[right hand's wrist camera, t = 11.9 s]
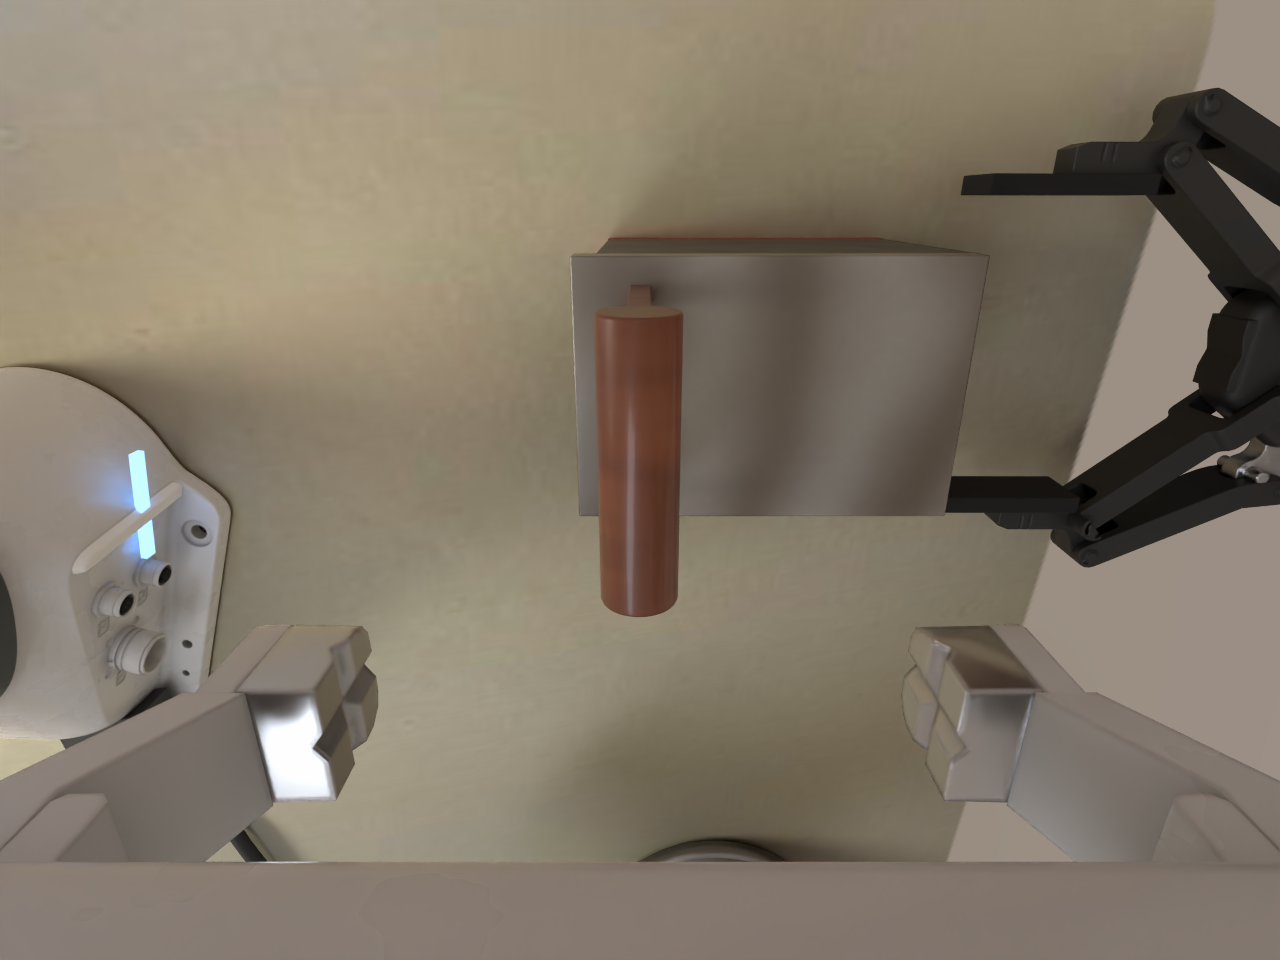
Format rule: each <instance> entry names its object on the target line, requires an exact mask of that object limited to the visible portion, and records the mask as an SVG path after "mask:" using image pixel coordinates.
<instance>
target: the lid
mask: <svg viewBox="0 0 1280 960" xmlns="http://www.w3.org/2000/svg"><path fill="white" fill-rule="evenodd" d="M988 262H989V256H988V255H984V254H977V253H600V254H573V255H572V256H570V276H571V303H572V330H573V357H574V384H575V411H576V438H577V465H578V492H579V515H580V516H599V533H600V573H601V598H602V601H603V603H604V604H605V606H606V607H607V608H609V609H610V610H612V611H613V612H616V613H618V614H621V615H625V616H632V617H647V616H653V615H657V614H660V613H663V612H665V611H667V610H669V609H670V608H671V607H672V606H673V605H674V604H675V602H676V600H677V597H678V556H679V516H944V515H945V510H946V504H947V498H948V492H949V487H950V481H951V475H952V469H953V464H954V458H955V452H956V446H957V441H958V435H959V429H960V423H961V418H962V412H963V406H964V400H965V395H966V389H967V383H968V377H969V372H970V366H971V360H972V354H973V348H974V343H975V337H976V331H977V325H978V320H979V314H980V308H981V302H982V297H983V291H984V285H985V279H986V274H987V268H988Z"/></svg>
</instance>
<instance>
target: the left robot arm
mask: <svg viewBox="0 0 1280 960" xmlns="http://www.w3.org/2000/svg"><path fill="white" fill-rule="evenodd" d="M1152 119H1153V123H1154V124H1153V126H1152V128H1151V129H1150V131H1149V132H1148V134H1147V135H1146V136H1145V137H1144V138H1143V139H1142V140H1140V141H1139V142H1087V143H1079V144H1072V145H1069V146H1066V147H1064V148H1061V149H1059V150H1058V151H1057V156H1056V161H1055V166H1054V171H1053V174H1011V173H994V174H982V175H970V176H964V179H963V185H962V191H961V195H1146V196H1147V197H1148V198H1149V200H1150V201H1151V202H1152V203H1153V204H1154V205H1155V207H1156V208H1157V209H1158V210H1159V211H1160V213H1161V214H1162V215H1163V216H1164V217H1165V218H1166V220H1167V221H1168V222H1169V223H1170V224H1171V226H1172V227H1173V228H1174V229H1175V230H1176V231H1177V233H1178V234H1179V235H1180V236H1181V237H1182V239H1183V240H1184V241H1185V242H1186V243H1187V245H1188V246H1189V247H1190V248H1191V249H1192V250H1193V252H1194V253H1195V254H1196V255H1197V256H1198V258H1199V259H1200V260H1201V261H1202V262H1203V263H1204V265H1205V266H1206V267H1207V268H1208V269H1209V271H1210V273H1209V274H1208V278H1209V279H1210V281H1211V282H1212V283H1213V284H1214V285H1215V287H1216V288H1217V289H1218V290H1219V291H1220V293H1221V294H1222V295H1223V296H1224V297H1225V298H1226V300H1227V301H1228V303H1227V304H1226V305H1225V306H1224V307H1223V309H1222V310H1221V312H1220V313H1213V314H1212V318H1211V321H1210V324H1209V328H1208V337H1207V349H1206V351H1205V353H1204V355H1203V356H1202V358H1201V360H1200V361H1199V363H1198V365H1197V368H1196V372H1195V375H1194V378H1193V382H1196V383H1199V389H1198V390H1196V391H1195V392H1193V393H1192V394H1190V395H1189V396H1187V397H1186V398H1184V399H1183V400H1181V401H1180V402H1178V403H1177V404H1175V405H1174V406H1172V407H1171V408H1170V409H1169V411H1168V414H1169V415H1168V417H1167V418H1166V419H1164V420H1163V421H1161V422H1160V423H1158V424H1157V425H1155V426H1154V427H1152V428H1151V429H1149V430H1148V431H1146V432H1145V433H1143V434H1141V435H1140V436H1139V437H1137V438H1135V439H1134V440H1132V441H1131V442H1129V443H1128V444H1126V445H1125V446H1123V447H1122V448H1120V449H1119V450H1117V451H1116V452H1114V453H1113V454H1111V455H1110V456H1108V457H1107V458H1105V459H1104V460H1102V461H1100V462H1099V463H1097V464H1096V465H1094V466H1093V467H1091V468H1090V469H1088V470H1087V471H1085V472H1084V473H1082V474H1081V475H1079V476H1078V477H1076V478H1075V479H1073V480H1072V481H1070V482H1069V483H1067V484H1066V485H1064V486H1062V485H1060V484H1059V483H1057V482H1056V481H1054V480H1053V479H1051V478H1050V477H1048V476H951V481H950V487H949V492H948V498H947V504H946V510H945V513H985V514H986V515H987V516H988V517H989V518H990V519H991V520H993V521H994V522H995V523H996V524H997V525H998V526H1001V527H1004V528H1006V529H1053V530H1052V532H1051V540H1052V542H1053V543H1054V544H1056V545H1057V546H1058V547H1059V548H1060V549H1062V550H1063V551H1064V552H1065V553H1066V554H1068V555H1069V556H1070V557H1071V558H1073V559H1074V560H1075V561H1076V562H1077V563H1079V564H1080V565H1082V566H1083V567H1093V566H1096V565H1098V564H1101V563H1103V562H1106V561H1109V560H1111V559H1114V558H1116V557H1119V556H1121V555H1124V554H1126V553H1129V552H1132V551H1134V550H1137V549H1139V548H1142V547H1144V546H1147V545H1149V544H1152V543H1154V542H1157V541H1160V540H1162V539H1165V538H1167V537H1170V536H1172V535H1175V534H1177V533H1180V532H1182V531H1185V530H1188V529H1190V528H1193V527H1195V526H1198V525H1200V524H1203V523H1205V522H1208V521H1210V520H1213V519H1216V518H1218V517H1221V516H1223V515H1226V514H1228V513H1231V512H1233V511H1236V510H1238V509H1241V508H1248V507H1259V506H1269V505H1279V504H1280V251H1279V250H1278V249H1277V247H1276V246H1275V245H1274V244H1273V242H1272V241H1271V240H1270V239H1269V237H1268V236H1267V235H1266V234H1265V232H1264V231H1263V230H1262V229H1261V227H1260V226H1259V225H1258V224H1257V222H1256V221H1255V220H1254V219H1253V217H1252V216H1251V215H1250V214H1249V212H1248V211H1247V210H1246V209H1245V207H1244V206H1243V205H1242V204H1241V202H1240V201H1239V200H1238V199H1237V198H1236V196H1235V195H1234V194H1233V192H1232V191H1231V190H1230V189H1229V187H1228V186H1227V185H1226V184H1225V182H1224V181H1223V180H1222V179H1221V177H1220V176H1219V175H1218V174H1217V172H1216V171H1215V170H1214V169H1213V168H1212V166H1211V165H1210V164H1209V162H1211V163H1212V164H1214V165H1215V166H1217V167H1218V168H1220V169H1221V170H1223V171H1224V172H1226V173H1228V174H1229V175H1231V176H1232V177H1234V178H1235V179H1237V180H1238V181H1240V182H1241V183H1243V184H1245V185H1246V186H1248V187H1249V188H1251V189H1252V190H1254V191H1256V192H1257V193H1258V194H1260V195H1262V196H1263V197H1265V198H1266V199H1268V200H1269V201H1271V202H1272V203H1274V204H1276V205H1278V206H1280V127H1279V126H1277V125H1276V124H1274V123H1273V122H1271V121H1270V120H1268V119H1267V118H1265V117H1264V116H1262V115H1261V114H1259V113H1258V112H1256V111H1255V110H1253V109H1252V108H1250V107H1249V106H1247V105H1246V104H1244V103H1243V102H1241V101H1240V100H1238V99H1237V98H1235V97H1234V96H1232V95H1231V94H1229V93H1228V92H1227V91H1225V90H1223V89H1220V88H1213V89H1208V90H1202V91H1197V92H1192V93H1187V94H1182V95H1178V96H1173V97H1168V98H1165V99H1164V100H1162V101H1160V103H1159V104H1158V105H1157V106H1156V108H1155V110H1154V112H1153V118H1152ZM1208 161H1209V162H1208ZM1215 411H1217V412H1218V413H1219V414H1220V415H1222V416H1223V417H1224V418H1219V417H1216V416H1213V415H1211V414H1212V413H1214V412H1215ZM1248 441H1250V443H1249V445H1248V447H1247V448H1246V449H1245V450H1244V451H1242V452H1241V453H1239V454H1236V455H1233V456H1231V457H1229V456H1227V455H1224V456H1221V457H1220V458H1219V459H1218V461H1217V465H1214V466H1208V467H1204V468H1200V469H1197V470H1194V471H1191V472H1188V473H1186V474H1183V473H1185V472H1186V471H1188V470H1189V469H1191V468H1193V467H1194V466H1196V465H1197V464H1199V463H1200V462H1202V461H1203V460H1205V459H1207V458H1208V457H1210V456H1211V455H1213V454H1215V453H1217V452H1220V451H1230V450H1234V449H1236V448H1239V447H1240V446H1242V445H1243V444H1245V443H1247V442H1248ZM1182 474H1183V475H1182ZM1180 475H1181V476H1180ZM641 862H785V861H783V860H782V859H780V858H779V857H777V856H775V855H774V854H772V853H769V852H767V851H765V850H763V849H760V848H757V847H754V846H750V845H747V844H742V843H737V842H729V841H698V842H690V843H685V844H680V845H676V846H673V847H670V848H667V849H664V850H661V851H659V852H657V853H654V854H652V855H651V856H649V857H647V858H645V859H644V860H642V861H641Z"/></svg>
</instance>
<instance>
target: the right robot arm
mask: <svg viewBox="0 0 1280 960" xmlns="http://www.w3.org/2000/svg"><path fill="white" fill-rule="evenodd" d="M230 519H231V511H230V507H229V505H228V503H227V501H226V500H225V499H224V498H223V497H222V496H221V495H220V494H219V493H218V492H217V491H216V490H214V489H213V488H212V487H210V486H209V485H208V484H206V483H205V482H203V481H202V480H200V479H199V478H197V477H196V476H194V475H193V474H191V473H190V472H188V471H187V470H185V469H184V468H183V467H182V466H181V465H180V464H179V463H178V461H177V460H176V459H175V458H174V457H173V455H172V454H171V453H170V452H169V450H168V449H167V448H166V446H165V445H164V444H163V443H162V441H161V440H160V439H159V437H158V436H157V435H156V434H155V433H154V432H153V431H152V429H151V428H150V427H149V426H148V425H147V424H146V423H145V422H144V421H143V420H142V419H140V418H139V417H138V416H137V415H136V414H135V413H134V412H132V411H131V410H130V409H129V408H128V407H126V406H125V405H124V404H122V403H121V402H119V401H118V400H117V399H115V398H113V397H112V396H110V395H109V394H107V393H105V392H104V391H102V390H100V389H98V388H96V387H94V386H92V385H90V384H88V383H86V382H84V381H81V380H79V379H76V378H74V377H71V376H68V375H65V374H61V373H58V372H54V371H50V370H45V369H38V368H29V367H5V368H0V738H9V739H21V740H59V739H60V740H61V742H62V744H63V745H64V747H65V750H63V751H61V752H59V753H57V754H55V755H53V756H51V757H48V758H46V759H44V760H42V761H40V762H38V763H36V764H34V765H32V766H30V767H28V768H26V769H23V770H21V771H19V772H17V773H15V774H13V775H11V776H9V777H7V778H5V779H3V780H1V781H0V960H1280V781H1279V780H1277V779H1275V778H1273V777H1271V776H1269V775H1266V774H1264V773H1262V772H1260V771H1258V770H1256V769H1254V768H1252V767H1250V766H1248V765H1246V764H1244V763H1242V762H1239V761H1237V760H1235V759H1233V758H1231V757H1229V756H1227V755H1225V754H1223V753H1221V752H1219V751H1217V750H1215V749H1213V748H1210V747H1208V746H1206V745H1204V744H1202V743H1200V742H1198V741H1196V740H1194V739H1192V738H1190V737H1188V736H1186V735H1183V734H1181V733H1179V732H1177V731H1175V730H1173V729H1171V728H1169V727H1167V726H1165V725H1163V724H1161V723H1159V722H1156V721H1154V720H1152V719H1150V718H1148V717H1146V716H1144V715H1142V714H1140V713H1138V712H1136V711H1134V710H1132V709H1130V708H1128V707H1125V706H1123V705H1121V704H1119V703H1117V702H1115V701H1113V700H1111V699H1109V698H1107V697H1105V696H1103V695H1101V694H1099V693H1085V692H1084V690H1083V689H1082V688H1081V687H1080V686H1079V685H1078V684H1077V683H1076V682H1075V681H1074V680H1073V678H1072V677H1071V676H1070V675H1069V674H1068V673H1067V672H1066V671H1065V670H1064V669H1063V668H1062V666H1061V665H1060V664H1059V663H1058V662H1057V661H1056V660H1055V659H1054V658H1053V657H1052V656H1051V654H1050V653H1049V652H1048V651H1047V650H1046V649H1045V648H1044V647H1043V646H1042V645H1041V644H1040V642H1039V641H1038V640H1037V639H1036V638H1035V637H1034V636H1033V635H1032V634H1031V633H1030V632H1029V630H1028V629H1027V628H1025V627H1023V626H1020V625H1018V624H1010V625H984V626H953V627H915V629H914V631H913V633H912V635H911V639H910V644H909V650H908V651H909V653H910V655H911V657H912V658H913V660H914V662H915V663H916V665H915V666H914V667H913V668H912V669H911V670H910V671H909V672H908V673H907V674H906V675H905V676H904V680H903V688H902V706H903V715H904V719H905V722H906V726H907V729H908V731H909V733H910V735H911V737H912V739H913V741H914V742H916V743H917V744H919V745H920V746H922V747H923V748H925V749H926V750H928V751H927V757H926V762H925V765H926V766H927V768H928V770H929V772H930V774H931V776H932V778H933V780H934V782H935V784H936V786H937V788H938V790H939V792H940V793H941V795H942V797H943V799H944V801H974V802H1007V806H1008V807H1010V808H1011V809H1012V810H1013V811H1014V812H1016V813H1017V814H1018V815H1019V816H1020V817H1022V818H1023V819H1024V820H1025V821H1027V822H1028V823H1029V824H1030V825H1031V826H1033V827H1034V828H1035V829H1036V830H1038V831H1039V832H1040V833H1041V834H1042V835H1044V836H1045V837H1046V838H1047V839H1048V840H1050V841H1051V842H1052V843H1053V844H1054V845H1056V846H1057V847H1058V848H1059V849H1061V850H1062V851H1063V852H1064V853H1066V854H1067V855H1068V856H1069V857H1070V858H1072V859H1073V860H1074V861H1075V862H267V861H266V859H265V858H264V857H263V855H262V854H261V853H260V851H259V850H258V849H257V847H256V846H255V845H254V843H253V842H252V841H251V839H250V838H249V837H248V835H247V834H246V832H245V831H244V829H245V828H246V827H248V826H249V825H250V824H251V823H253V822H254V821H255V820H256V819H257V818H259V817H260V816H261V815H262V814H264V813H265V812H266V811H267V810H268V809H270V808H271V807H272V806H273V803H272V802H305V801H336V799H337V797H338V796H339V794H340V792H341V790H342V788H343V786H344V784H345V782H346V780H347V778H348V776H349V774H350V772H351V770H352V768H353V766H354V765H355V762H354V757H353V751H352V750H354V749H355V748H357V747H358V746H360V745H361V744H363V743H364V742H366V741H367V739H368V737H369V735H370V733H371V730H372V728H373V726H374V722H375V718H376V713H377V709H378V686H377V680H376V676H375V675H374V674H373V673H372V672H371V671H370V670H369V669H368V668H367V667H366V666H365V665H364V663H365V662H366V660H367V658H368V657H369V655H370V653H371V651H372V650H371V645H370V640H369V636H368V632H367V631H366V630H365V629H364V628H363V627H362V626H327V625H295V626H294V625H261V626H257V627H254V628H253V629H252V631H251V632H250V633H249V634H248V635H247V636H246V637H245V638H244V639H243V640H242V641H241V643H240V644H239V645H238V646H237V647H236V648H235V649H234V650H233V651H232V652H231V653H230V654H229V656H228V657H227V658H226V659H225V660H224V661H223V662H222V663H221V664H220V665H219V666H218V668H217V669H216V670H215V671H214V672H213V673H212V674H211V675H210V676H209V677H208V674H209V667H210V660H211V653H212V646H213V639H214V632H215V625H216V618H217V611H218V604H219V597H220V590H221V583H222V576H223V569H224V561H225V554H226V547H227V540H228V533H229V526H230ZM199 525H200V526H202V527H204V528H205V530H206V532H207V533H204V532H203V531H201V530H200V528H199ZM229 841H231V843H232V844H233V845H234V847H235V848H236V850H237V851H238V852H239V854H240V855H241V856H242V858H243V859H244V860H245V861H246V862H205V861H206V860H207V859H209V858H210V857H211V856H212V855H214V854H215V853H216V852H217V851H218V850H220V849H221V848H222V847H223V846H225V845H226V844H227V843H228V842H229Z"/></svg>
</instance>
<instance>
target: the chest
mask: <svg viewBox="0 0 1280 960" xmlns="http://www.w3.org/2000/svg"><path fill="white" fill-rule="evenodd" d="M600 253H970V252H964V251H957V250H950V249H944V248H937V247H931V246H924V245H917V244H911V243H904V242H897V241H891V240H884V239H881V238H609V239H608V241H607V243H606V244H605V245H604V246H603V247H602V248H601V249H600V250H599V251H598V252H597V254H600Z"/></svg>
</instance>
